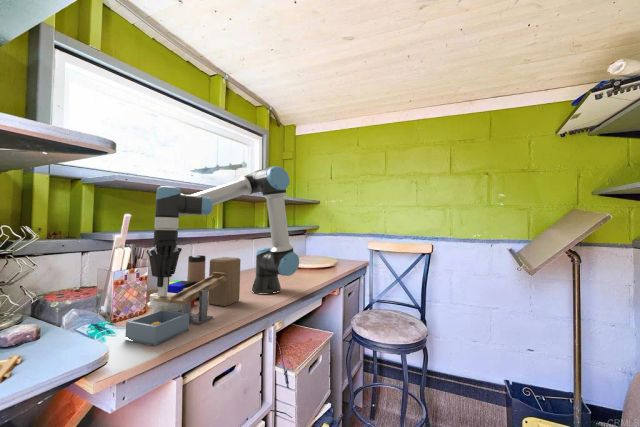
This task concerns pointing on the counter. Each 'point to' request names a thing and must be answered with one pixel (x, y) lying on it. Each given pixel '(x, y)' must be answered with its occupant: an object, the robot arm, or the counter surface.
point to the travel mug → (196, 269)
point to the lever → (193, 290)
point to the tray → (157, 327)
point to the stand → (203, 309)
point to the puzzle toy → (176, 288)
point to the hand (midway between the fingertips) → (162, 295)
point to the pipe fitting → (155, 303)
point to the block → (229, 288)
